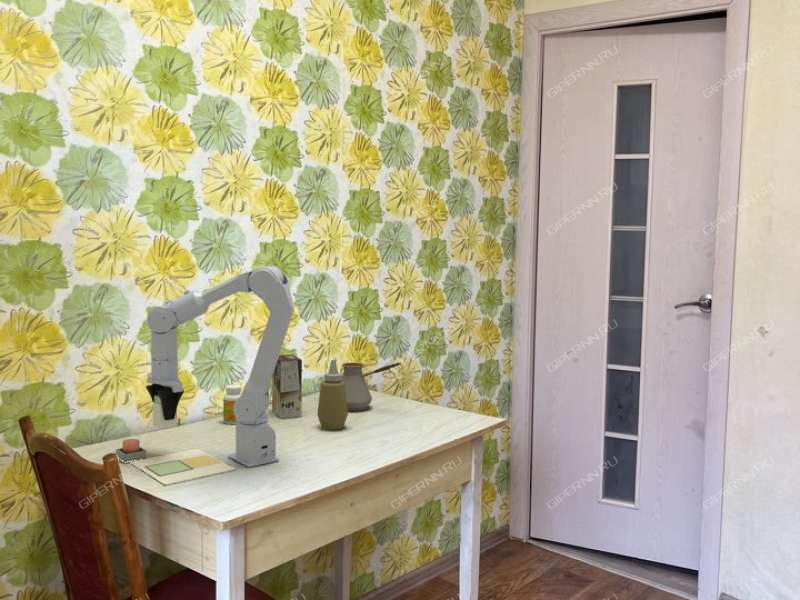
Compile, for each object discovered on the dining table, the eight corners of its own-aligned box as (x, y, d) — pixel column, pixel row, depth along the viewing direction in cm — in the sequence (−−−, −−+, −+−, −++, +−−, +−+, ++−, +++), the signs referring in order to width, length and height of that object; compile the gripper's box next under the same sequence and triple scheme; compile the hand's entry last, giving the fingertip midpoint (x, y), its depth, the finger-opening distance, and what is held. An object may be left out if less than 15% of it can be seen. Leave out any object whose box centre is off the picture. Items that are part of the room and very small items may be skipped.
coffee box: (302, 416, 211) (303, 359, 209) (279, 418, 208) (280, 360, 207) (292, 409, 219) (293, 353, 218) (270, 410, 217) (271, 355, 215)
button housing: (146, 459, 171) (146, 450, 171) (124, 463, 168) (124, 454, 168) (137, 453, 175) (137, 445, 175) (115, 457, 172) (115, 449, 172)
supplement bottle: (219, 422, 203) (219, 386, 202) (232, 418, 208) (232, 383, 207) (234, 425, 200) (234, 389, 199) (248, 421, 205) (248, 385, 204)
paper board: (235, 470, 165) (235, 468, 165) (164, 485, 155) (164, 484, 155) (197, 450, 179) (197, 448, 179) (129, 463, 168) (129, 461, 168)
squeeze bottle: (350, 424, 205) (351, 358, 203) (344, 432, 197) (346, 363, 195) (320, 422, 205) (321, 356, 203) (314, 430, 197) (314, 362, 195)
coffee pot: (325, 409, 219) (325, 358, 218) (344, 401, 230) (345, 352, 228) (392, 419, 211) (393, 366, 209) (408, 410, 221) (410, 359, 219)
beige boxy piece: (177, 426, 174) (176, 396, 173) (160, 429, 171) (159, 398, 170) (169, 422, 177) (169, 393, 176) (152, 425, 174) (152, 395, 173)
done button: (142, 452, 171) (142, 441, 171) (126, 455, 169) (126, 444, 169) (135, 448, 174) (135, 437, 174) (120, 451, 172) (120, 440, 171)
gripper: (134, 355, 175) (135, 413, 176) (160, 365, 164) (161, 427, 166) (164, 352, 180) (164, 409, 181) (191, 362, 169) (191, 422, 170)
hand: (165, 417), depth 174 cm, fingers closed on beige boxy piece, 4 cm apart
